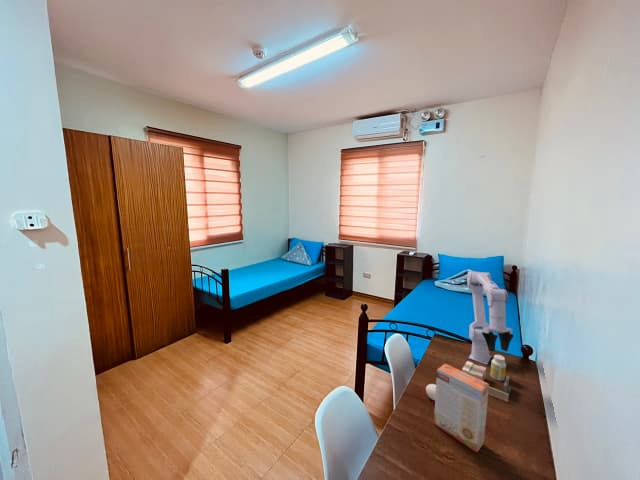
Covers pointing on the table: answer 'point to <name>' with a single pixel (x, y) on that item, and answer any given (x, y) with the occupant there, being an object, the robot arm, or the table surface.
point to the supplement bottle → (498, 367)
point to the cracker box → (461, 406)
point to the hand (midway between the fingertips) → (498, 350)
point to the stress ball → (431, 391)
